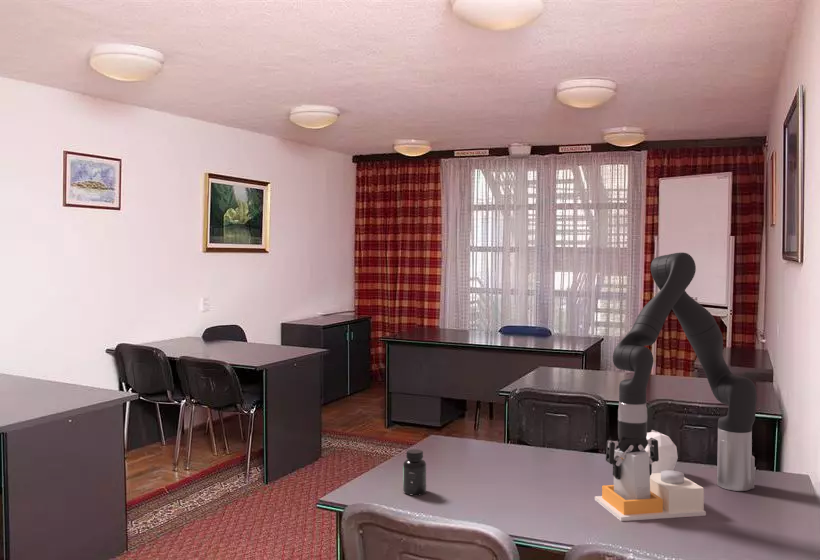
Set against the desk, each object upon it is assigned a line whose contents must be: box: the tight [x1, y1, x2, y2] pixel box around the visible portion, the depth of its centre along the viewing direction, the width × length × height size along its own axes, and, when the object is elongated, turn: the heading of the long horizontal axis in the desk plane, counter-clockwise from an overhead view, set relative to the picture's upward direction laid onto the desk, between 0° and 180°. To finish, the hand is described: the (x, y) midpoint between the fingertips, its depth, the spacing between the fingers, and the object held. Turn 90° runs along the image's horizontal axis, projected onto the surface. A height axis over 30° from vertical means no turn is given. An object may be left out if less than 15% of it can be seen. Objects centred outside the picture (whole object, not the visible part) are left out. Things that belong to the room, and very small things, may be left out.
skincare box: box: [613, 448, 651, 500], centre depth 188 cm, size 8×6×15 cm
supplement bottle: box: [402, 448, 427, 496], centre depth 201 cm, size 7×7×12 cm
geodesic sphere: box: [645, 429, 679, 473], centre depth 217 cm, size 15×14×14 cm
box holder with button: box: [594, 470, 707, 522], centre depth 189 cm, size 24×16×9 cm, turn 99°
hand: (632, 477), depth 188 cm, fingers open, 8 cm apart
